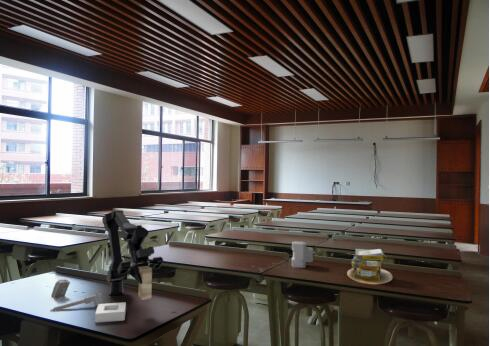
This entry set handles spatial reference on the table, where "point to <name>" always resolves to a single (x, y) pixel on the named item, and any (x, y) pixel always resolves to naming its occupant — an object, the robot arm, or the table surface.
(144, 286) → the birch peg
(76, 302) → the caliper
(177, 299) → the table surface
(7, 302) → the table surface
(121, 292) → the robot arm
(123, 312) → the socket block
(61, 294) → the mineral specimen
